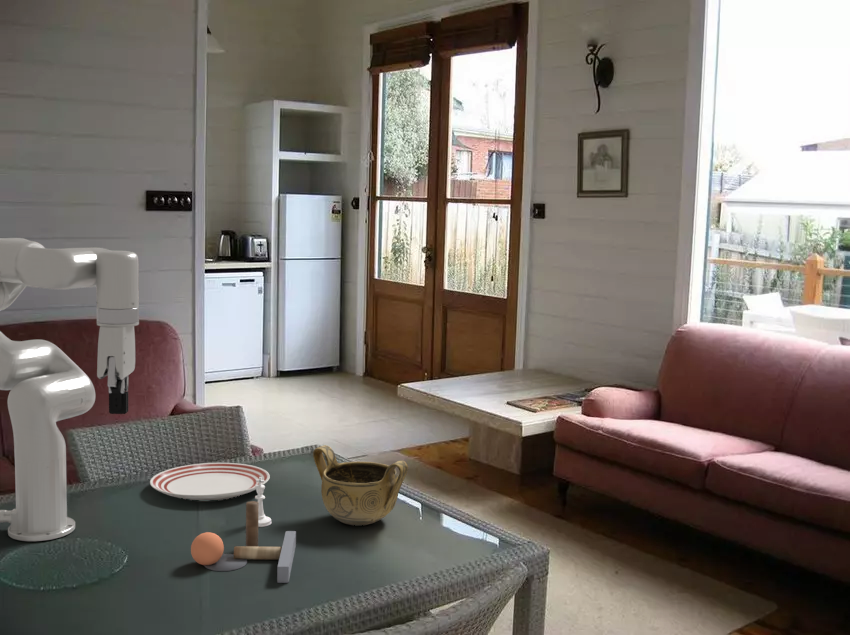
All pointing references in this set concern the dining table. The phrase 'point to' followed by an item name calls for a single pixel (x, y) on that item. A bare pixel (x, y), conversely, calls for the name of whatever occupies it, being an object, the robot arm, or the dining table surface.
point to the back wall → (286, 557)
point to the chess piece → (261, 505)
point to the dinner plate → (209, 480)
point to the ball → (207, 548)
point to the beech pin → (257, 552)
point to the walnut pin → (252, 523)
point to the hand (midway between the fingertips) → (118, 412)
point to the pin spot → (227, 563)
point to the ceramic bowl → (358, 487)
